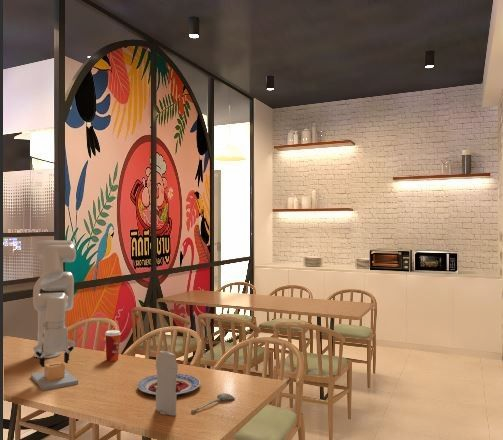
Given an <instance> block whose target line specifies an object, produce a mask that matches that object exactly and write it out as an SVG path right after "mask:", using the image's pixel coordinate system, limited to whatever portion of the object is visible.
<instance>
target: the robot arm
mask: <svg viewBox="0 0 503 440" xmlns="http://www.w3.org/2000/svg"><path fill="white" fill-rule="evenodd" d="M35 251H36V255H37V257H38V260H39V263H40V274H39V275H40V277H39V278H38V279H37V280H36V282H35V284H34V285H33V288H32V289H33V291H32V305H33V308H34V310H36V311H37V345H36V346H34V347H32V350H33V352H34V354H33V356H34V357H35V358H36V357H37V359H39V366H41V367H42V368H44V364H46V363H45V361H46V360H45V359H49V358H51V359H52V358H55V357H58V356H61V354H62V352H64V354H63V355H64V356H63V357H64V358H63V361H64V363H65V364H69V361H70V354H71V352H72V351H74V347H76V341H74V340H71V339H69V334H68V333H69V332H68V327H67V326H66V325H65V324H66V312H67V311H71V310H72V309H73V308H74V302H75V301H74V300H75V299H74V298H75V297H74V295H75V294H74V292H75V288H74V287H75V279H74V275H73V273H72V272H71V271H64V263H73V262H75V260H76V259H77V250H76V247H75V245H74V242H73V241H72V240H69V239H67V240H61V239H60V240H57V239H56V240H55V239H54V240H53V239H51V240H49V239H48V240H47V239H45V240H39V241H37V242H36V244H35ZM41 290H43V291H46V292H45V293H44V292H42V293H41ZM47 291H48V292H47ZM54 291H55V292H54ZM56 291H63V292H56ZM69 344H70V346H69Z"/></svg>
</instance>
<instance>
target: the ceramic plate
mask: <svg viewBox="0 0 503 440" xmlns="http://www.w3.org/2000/svg"><path fill="white" fill-rule="evenodd" d="M136 386H137V388H138V389H139V390H140V391H141V392H143V393H145V394H150V395H153V396H154V395H155V396H156V389H157V374H154V375H150V376H147V377H145V378H143V379H141V380H140V381H138V383H137V385H136ZM199 386H201V381H200V379H199V378H197V377H195V376H193V375H190V374H187V373H186V374H184V373H177V375H176V395H182V394H188V393H190V392H192V391H194V390H196V389H198V388H199Z"/></svg>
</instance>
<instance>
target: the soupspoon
mask: <svg viewBox="0 0 503 440" xmlns="http://www.w3.org/2000/svg"><path fill="white" fill-rule="evenodd" d="M227 400H236V398H235V396H233V395H231V394H229V393H225V392H223V393H222V392H221V393H219V394H217V395H216V399H213V400H211V401H209V402H208V403H206V404H203V405H202V406H199V407H197V408H194V409H191V410H190V411H191V414H195V413H197V412H198V411H199V410H200V409H204V408H205V407H208V406H209V405H211V404H213V403H216V402H218V401H227Z"/></svg>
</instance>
